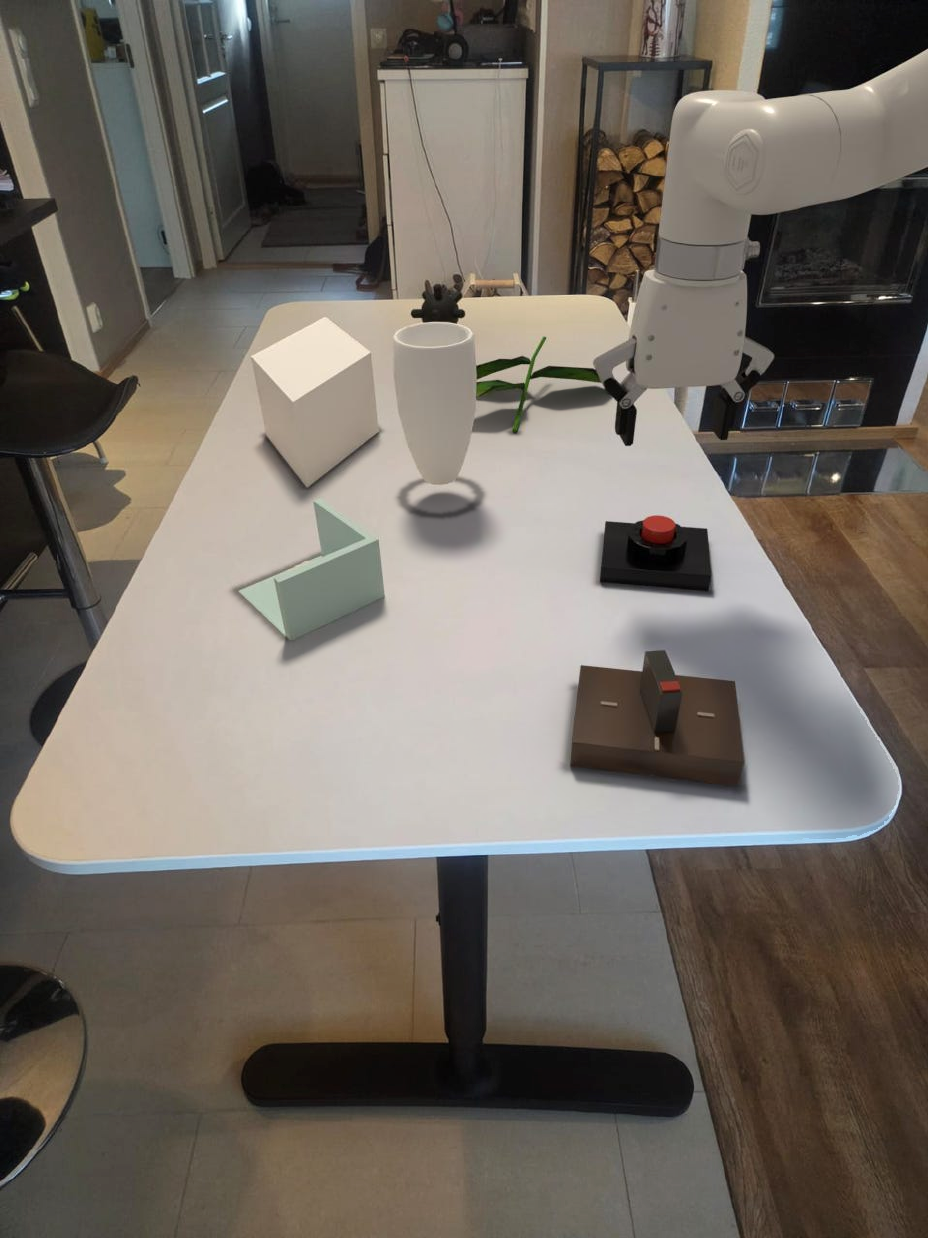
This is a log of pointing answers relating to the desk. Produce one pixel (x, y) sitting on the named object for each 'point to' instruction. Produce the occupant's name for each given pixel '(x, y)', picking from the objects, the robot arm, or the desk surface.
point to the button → (658, 529)
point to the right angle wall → (323, 578)
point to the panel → (626, 740)
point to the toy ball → (439, 307)
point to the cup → (436, 395)
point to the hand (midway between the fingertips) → (672, 437)
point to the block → (316, 397)
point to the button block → (656, 558)
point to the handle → (660, 691)
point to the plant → (547, 372)
